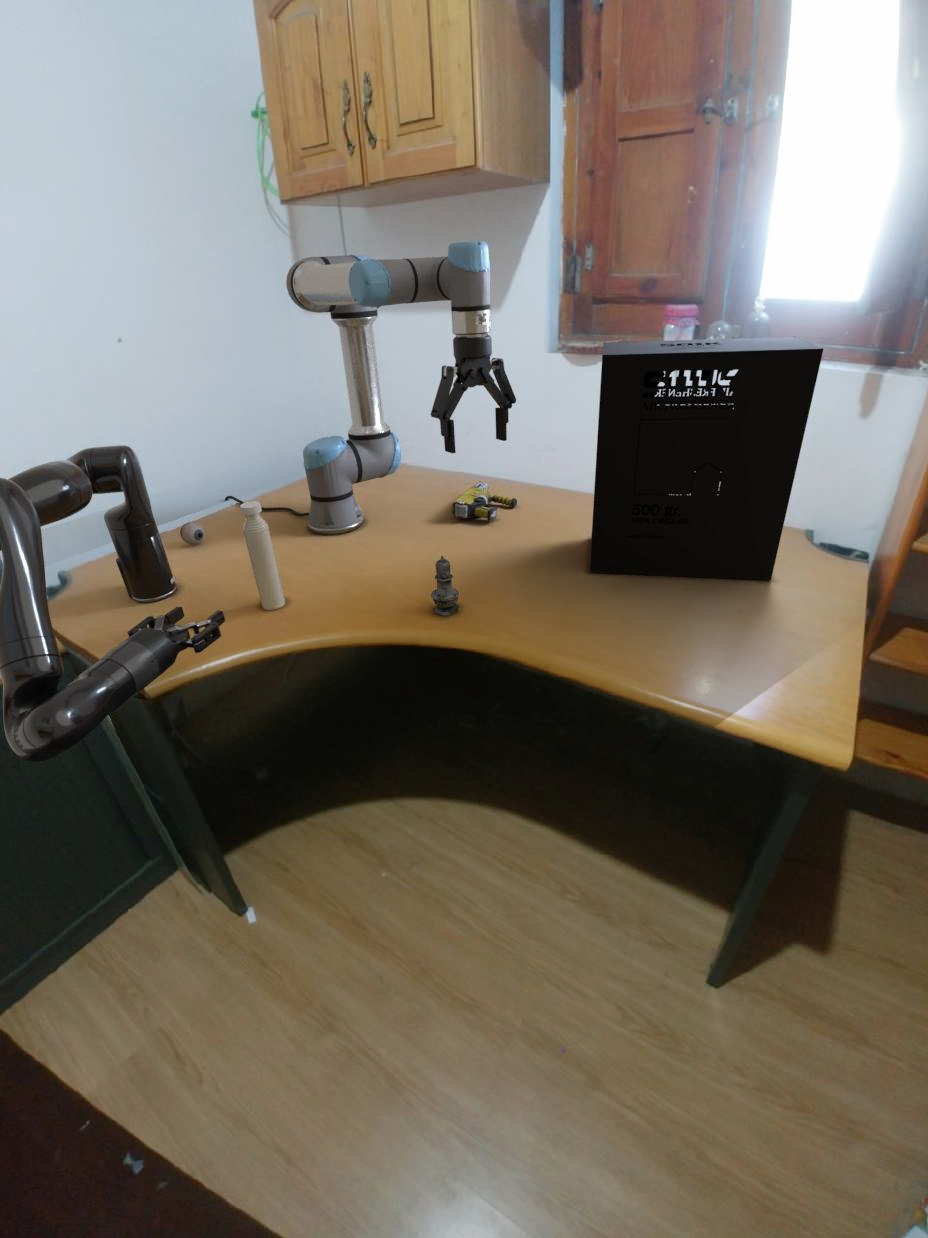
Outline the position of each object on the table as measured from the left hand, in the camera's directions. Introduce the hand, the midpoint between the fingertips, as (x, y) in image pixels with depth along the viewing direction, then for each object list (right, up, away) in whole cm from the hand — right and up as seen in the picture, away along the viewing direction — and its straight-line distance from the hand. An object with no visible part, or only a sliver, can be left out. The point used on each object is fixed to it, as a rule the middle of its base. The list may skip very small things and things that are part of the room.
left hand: (201, 612), depth 108 cm
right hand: (+50, +35, +20) cm, 64 cm away
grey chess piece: (+43, +1, +16) cm, 46 cm away
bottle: (+6, +2, +22) cm, 23 cm away
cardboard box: (+96, +13, +32) cm, 102 cm away
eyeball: (-25, +19, +55) cm, 63 cm away
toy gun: (+54, +31, +67) cm, 92 cm away
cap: (+5, +21, +11) cm, 25 cm away
